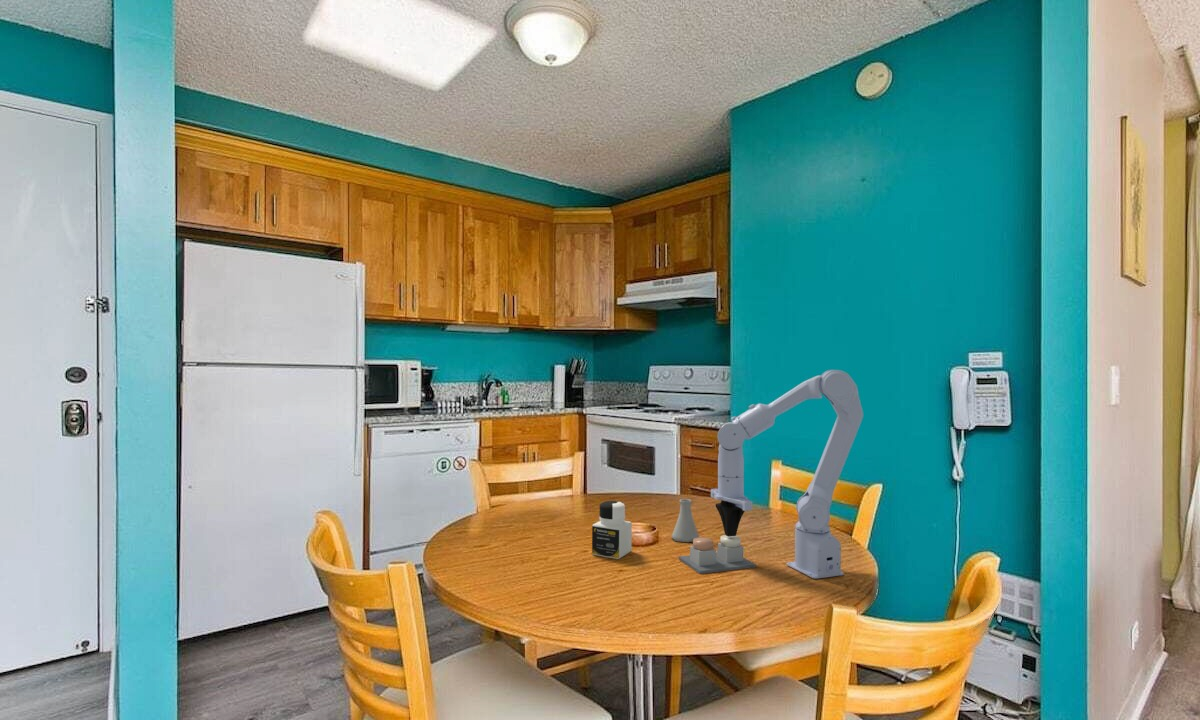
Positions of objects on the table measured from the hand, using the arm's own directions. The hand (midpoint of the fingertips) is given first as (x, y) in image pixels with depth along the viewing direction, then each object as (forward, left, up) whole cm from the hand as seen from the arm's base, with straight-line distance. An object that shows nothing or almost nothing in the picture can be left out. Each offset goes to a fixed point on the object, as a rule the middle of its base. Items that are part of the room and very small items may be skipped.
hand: (730, 535), depth 135 cm
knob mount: (0, +4, -6) cm, 7 cm away
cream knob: (0, 0, -5) cm, 5 cm away
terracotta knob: (0, +7, -5) cm, 9 cm away
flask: (+19, +2, -6) cm, 20 cm away
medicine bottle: (+14, +24, -6) cm, 28 cm away
